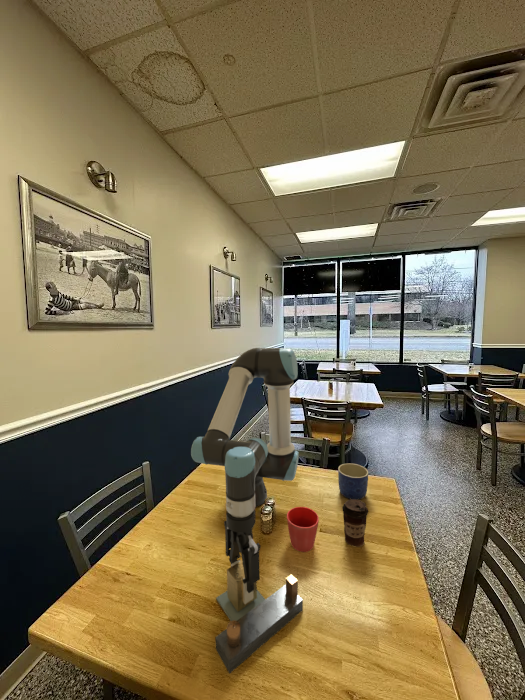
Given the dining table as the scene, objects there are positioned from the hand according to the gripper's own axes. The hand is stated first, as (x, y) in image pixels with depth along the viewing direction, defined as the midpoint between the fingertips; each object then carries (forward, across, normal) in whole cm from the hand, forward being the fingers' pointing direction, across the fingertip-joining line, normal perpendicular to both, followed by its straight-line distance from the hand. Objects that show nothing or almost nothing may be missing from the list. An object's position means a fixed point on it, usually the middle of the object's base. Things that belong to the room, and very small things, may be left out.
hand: (242, 592), depth 77 cm
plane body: (+3, +8, 0) cm, 9 cm away
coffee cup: (+3, +6, +42) cm, 43 cm away
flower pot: (+3, -5, +28) cm, 28 cm away
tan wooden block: (+2, 0, 0) cm, 2 cm away
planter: (+3, -11, +65) cm, 66 cm away
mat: (+3, 0, 0) cm, 3 cm away
